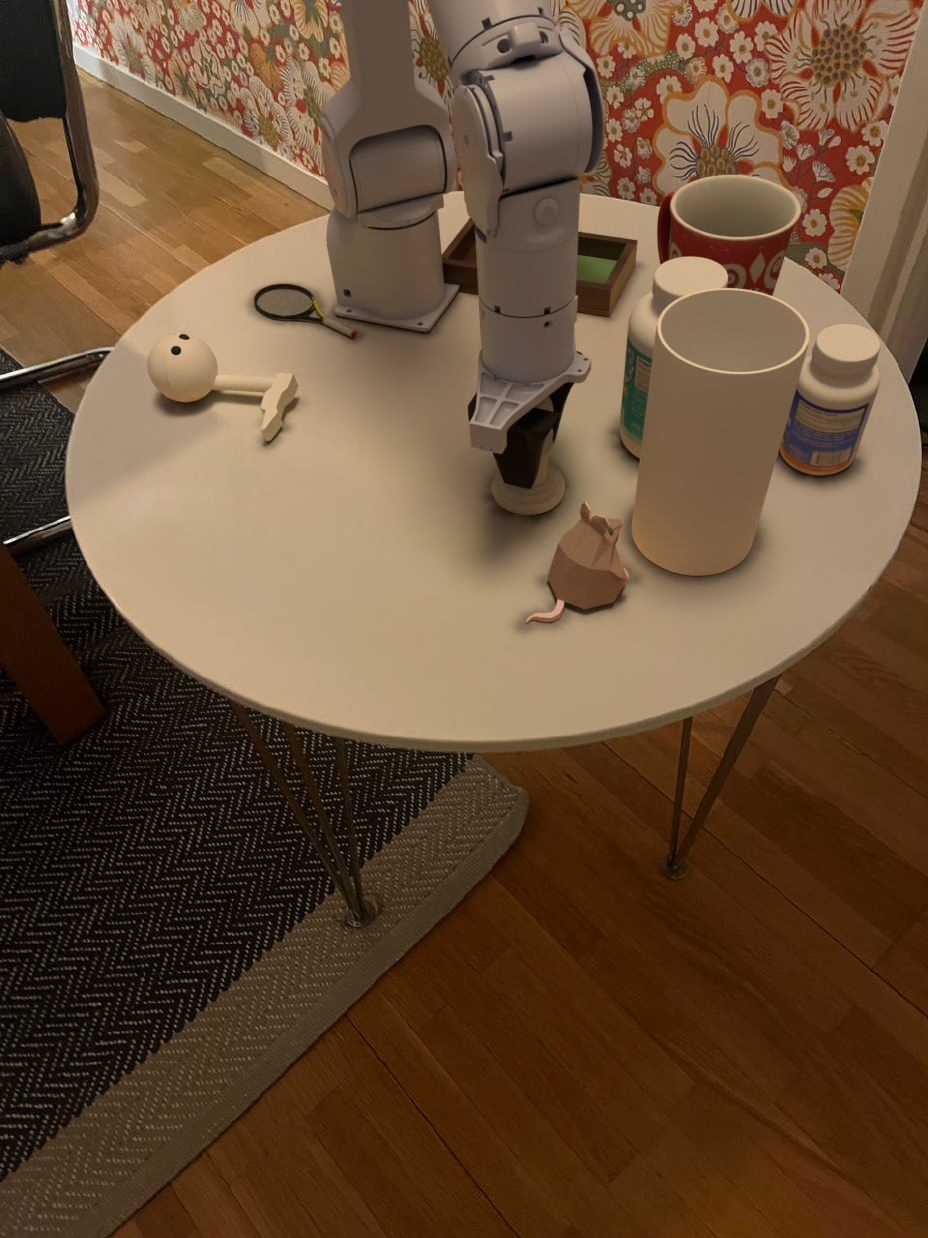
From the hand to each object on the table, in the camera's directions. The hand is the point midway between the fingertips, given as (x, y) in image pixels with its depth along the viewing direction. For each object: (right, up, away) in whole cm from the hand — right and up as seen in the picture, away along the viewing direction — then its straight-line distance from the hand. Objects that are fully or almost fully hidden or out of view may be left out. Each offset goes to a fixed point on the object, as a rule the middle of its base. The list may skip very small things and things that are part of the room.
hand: (527, 465), depth 62 cm
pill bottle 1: (+11, +3, +5) cm, 12 cm away
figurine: (-31, +9, +10) cm, 33 cm away
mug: (+15, +11, +11) cm, 22 cm away
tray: (+2, +21, +20) cm, 29 cm away
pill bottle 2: (+22, +1, +3) cm, 22 cm away
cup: (+11, -5, -1) cm, 12 cm away
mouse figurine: (+3, -9, -4) cm, 10 cm away
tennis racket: (-21, +16, +17) cm, 31 cm away
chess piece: (0, -2, +2) cm, 3 cm away
